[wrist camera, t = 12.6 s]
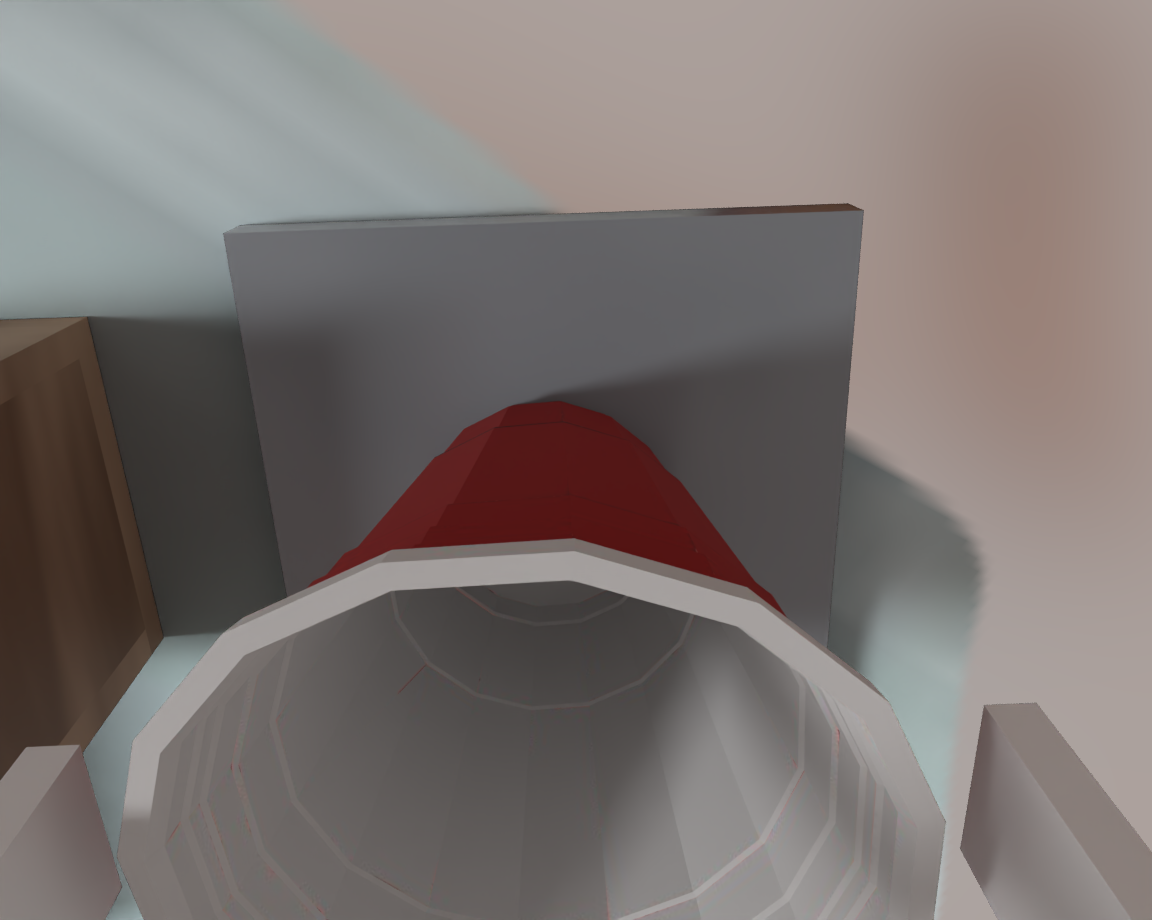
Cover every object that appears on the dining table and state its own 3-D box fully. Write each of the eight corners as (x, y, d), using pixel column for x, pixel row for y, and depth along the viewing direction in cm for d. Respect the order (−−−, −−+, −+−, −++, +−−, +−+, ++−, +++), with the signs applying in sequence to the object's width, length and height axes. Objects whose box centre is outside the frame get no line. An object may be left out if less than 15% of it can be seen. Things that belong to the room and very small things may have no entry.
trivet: (323, 721, 27) (313, 749, 26) (240, 225, 21) (223, 233, 20) (809, 703, 27) (820, 730, 26) (847, 203, 21) (864, 210, 20)
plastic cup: (255, 592, 24) (-11, 1046, 13) (440, 211, 20) (294, 375, 9) (623, 753, 26) (672, 1262, 15) (849, 434, 22) (1135, 787, 11)
